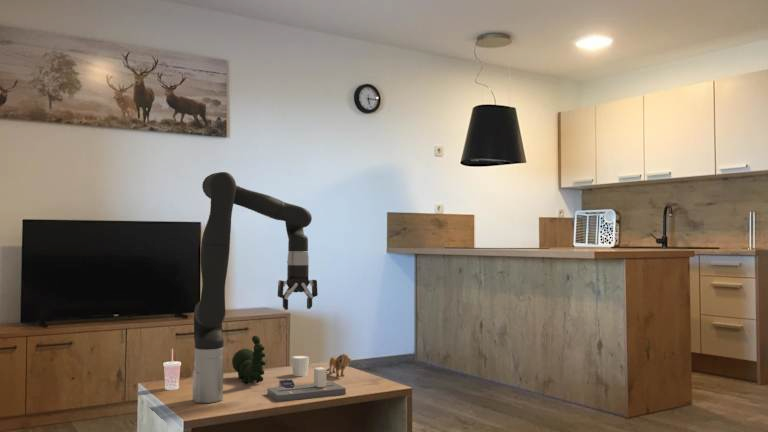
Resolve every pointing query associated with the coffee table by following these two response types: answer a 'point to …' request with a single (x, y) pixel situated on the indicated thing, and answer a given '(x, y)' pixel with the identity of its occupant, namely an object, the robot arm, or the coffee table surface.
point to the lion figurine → (339, 364)
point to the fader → (320, 377)
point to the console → (305, 391)
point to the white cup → (300, 365)
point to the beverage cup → (172, 374)
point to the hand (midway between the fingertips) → (297, 309)
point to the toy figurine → (250, 362)
